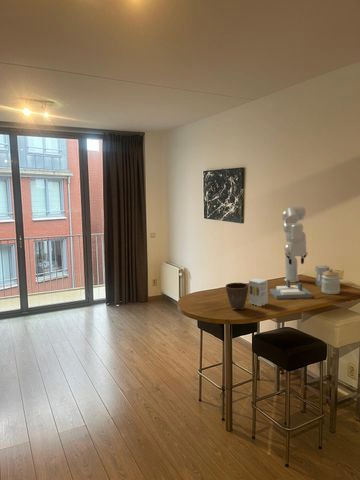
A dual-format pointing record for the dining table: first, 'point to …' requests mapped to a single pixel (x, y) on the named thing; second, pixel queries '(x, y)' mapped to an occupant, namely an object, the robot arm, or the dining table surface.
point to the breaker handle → (299, 286)
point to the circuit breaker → (320, 274)
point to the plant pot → (237, 294)
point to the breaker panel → (279, 296)
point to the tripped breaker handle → (287, 282)
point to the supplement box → (258, 292)
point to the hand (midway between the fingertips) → (296, 263)
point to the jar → (330, 282)
